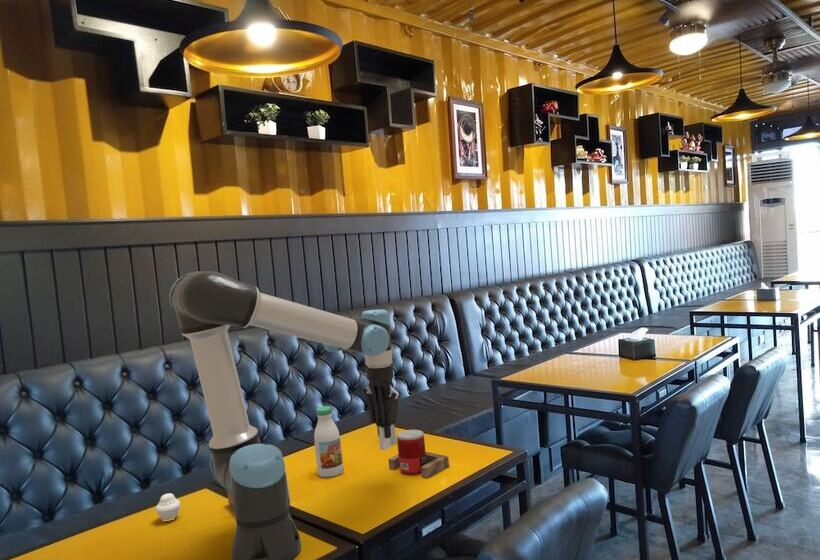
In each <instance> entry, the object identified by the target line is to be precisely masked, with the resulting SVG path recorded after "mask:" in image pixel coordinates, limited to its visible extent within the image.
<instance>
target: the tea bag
mask: <svg viewBox="0 0 820 560" xmlns="http://www.w3.org/2000/svg"><path fill="white" fill-rule="evenodd" d="M390 444H391V446H394V444H395V445H397V433H396V426H395V424H393V425H391V437H390Z"/></svg>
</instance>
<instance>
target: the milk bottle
mask: <svg viewBox="0 0 820 560" xmlns="http://www.w3.org/2000/svg"><path fill="white" fill-rule="evenodd" d="M315 413H316V417H317V422H316V426H315V430H314V435H313V437H314V438H313V439H314V450H315V460H316V461H315V462H316V468H317V469H316V470H317V475H318V476H319V477H322V478H333V477H336V476H337V477H338V476H339V475H341V474H342V473H343V472H344V463H343V453H342V445H341V436H340V435H341V434H340V432H339V429H338V427H337V425H336V423H335V422H334V420H333V417H332V415H333V409H332V407H331V406H329V405H328V406H327V405H326V406H325V405H324V406H320V407H317V408H316V412H315Z"/></svg>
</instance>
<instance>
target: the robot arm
mask: <svg viewBox="0 0 820 560" xmlns="http://www.w3.org/2000/svg"><path fill="white" fill-rule="evenodd" d="M168 297H169V305H170V308H171V309H172V312H173V313H174V315H176V318H177V321H178V325H179V329H180V333H181V335H182V336H183V337H185V338H186V339H188V340H189V341H190V345H191V349H192V353H193V358H194V363H195V366H196V369H197V373H198V378H199V383H200V387H201V390H202V394H203V400H204V403H205V406H206V410H207V411H206V412H207V415H208V420H209V423H210V427H211V431H212V435H213V436H212V437H211V439H210V440H209V442H208V447H209V452H210V461H209V466H210V472H211V474H212V476H213V478H214V480H215V481H216V482H217V483H218V484H219V485H220V486H222V487H223V488H224V489H225V490H226V492H228V493H229V494H230V495H231V497H232V498H233V505H234V506H233V507H234V513H235V514H234V516H235V521H236V523H235V524H236V528H235V532H234V537H233V543H232V547H231V560H291V559H292V560H293V559H295V556H296V555H297V556H298V555H299V553H300V551H301V549H302V543H301V542H302V541H301V534H300V533H299V531H298V529H297V527H296V524H295V522H294V520H293V518H292V516H291V513H290V507H289V497H288V488H287V476H286V463H285V460H284V456H283V453H282V451H281V450H280V449H279V448H278V447H277V446H275V445H273V444H270V443H269V444H265V443H261V439H260V435H259V431H258V428H257V427H255V426H253V425H251V424H250V421H249V416H248V412H247V409H246V404H245V400H244V395H243V392H242V388H241V384H240V379H239V374H238V369H237V365H236V362H235V357H234V353H233V349H232V345H231V344H232V343H231V340H230V336H229V332H228V330H229V328H230V327H231V326H233V327H238V328H240V329H241V328H242V329H245V328H247V327H249V326H253V327H256V328H257V327H258V328H261V329H264V330H269V331H273V332H277V333H281V334H284V335H288V336H293V337H295V338H296V337H297V338H299V339H303V340H304V339H305V340H308V341H312V342H315V343H320V344H322V345H323V347H324V349H325V350H326V351H327V352H329V353H331V352H340V351H348V352H353V353H358V354H363V355H364V359H365V361H364V362H365V365H366V368H365V373H366V380H367V381H368V386H367V387H366V388H365V387H364V388H363V389H362V393H363V394H364V395H363V396H364V397H365V400H366V405H367V409H368V412H369V418H370V421H371V423H373V424H375V425H376V427H377V429H376V430H377V436H378V439H379V449H380V451H387V450H389V449H391V447H392V445H391V444H390V437H391V425H396V424H397V416H398V415H397V414H398V407H399V399H400V397H401V394H402V393H401V391H400V390H398V391H397V390H396V389H395V388H394V384H393V379H394V365H392V363H393V351H392V349H393V348H392V335H391V321H390V315H389V314H390V313H389V312H388V310H386V309H369V310H364V311H362V314H361V318H360V319H357V320H356V319H354V318H350V317H346V316H343V315H339V314H336V313H332V312H329V311H327V310H321V309H319V308H315V307H312V306H307V305H306V304H305V305H304V304H301V303H299V302H294V301H292V300H287V299H283V298H280V297H277V296H273V295H270V294H266V293H263V292H260V290H259V288H258V287H257V286H255V285H251V284H248V283H245V282H242V281H240V280H238V279H235V278H232V277H230V276H228V275H225V274H223V273H220V272H217V271H212V270H211V271H210V270H207V271H206V270H205V271H201V270H200V271H191V272H189V273H186V274H185V273H184V275H183V276H181V277H179V278H178V279H177V280H176V281H175V282H174V283H173V284H172V286H171V289H170V290H169V296H168ZM297 556H296V557H297Z"/></svg>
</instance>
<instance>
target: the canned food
mask: <svg viewBox="0 0 820 560" xmlns="http://www.w3.org/2000/svg"><path fill="white" fill-rule="evenodd" d="M396 442H397V444H396V445H397V451H398V452H397V453H398V454H399V464H400V467H399V470H400V473H402V474H404V475H408V476H415V474H416V475H420V474H422V471H421V467H422V466H424V465H426V464H427V463H426V452H427V451H426V444H425V443H426V442H425V434H424V432H423V430H419V429H407V430H402V431H400V432H398V433H396ZM398 454H397V455H398Z"/></svg>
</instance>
